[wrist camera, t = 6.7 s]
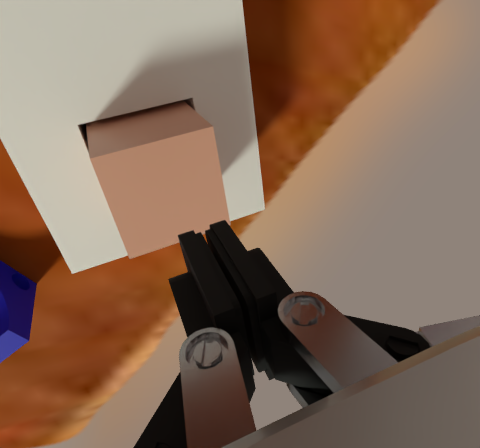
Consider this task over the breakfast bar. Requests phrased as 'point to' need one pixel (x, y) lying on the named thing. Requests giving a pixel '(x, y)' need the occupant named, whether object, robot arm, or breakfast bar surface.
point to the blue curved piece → (14, 309)
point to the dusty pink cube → (158, 174)
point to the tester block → (118, 100)
